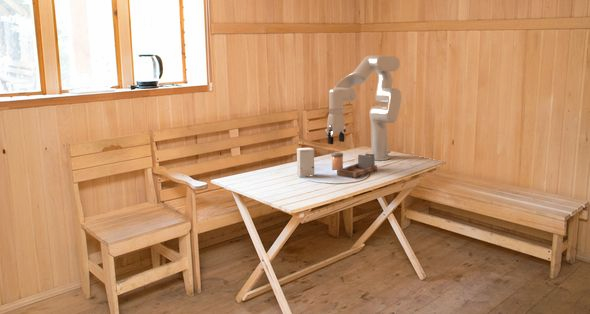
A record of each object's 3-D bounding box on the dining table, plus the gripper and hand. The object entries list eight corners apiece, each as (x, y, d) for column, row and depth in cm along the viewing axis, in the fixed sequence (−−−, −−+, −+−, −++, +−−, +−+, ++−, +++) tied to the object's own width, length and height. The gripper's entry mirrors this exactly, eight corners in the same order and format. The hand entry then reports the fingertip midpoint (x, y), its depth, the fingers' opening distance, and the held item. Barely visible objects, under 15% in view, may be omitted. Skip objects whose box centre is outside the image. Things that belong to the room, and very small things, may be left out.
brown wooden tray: (358, 168, 313) (358, 162, 313) (376, 170, 305) (376, 165, 305) (337, 175, 299) (336, 170, 298) (355, 178, 291) (355, 173, 290)
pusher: (364, 165, 314) (364, 153, 312) (377, 167, 308) (377, 154, 307) (358, 167, 310) (358, 154, 308) (371, 169, 304) (370, 156, 303)
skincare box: (300, 177, 297) (299, 150, 294) (296, 175, 303) (295, 148, 300) (315, 176, 300) (314, 148, 296) (311, 173, 305) (310, 146, 302)
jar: (336, 167, 316) (336, 152, 314) (345, 169, 312) (345, 153, 310) (329, 170, 312) (329, 154, 310) (338, 171, 307) (338, 155, 306)
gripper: (340, 109, 314) (340, 140, 317) (320, 112, 301) (321, 144, 304) (351, 110, 309) (351, 141, 312) (331, 113, 296) (331, 145, 299)
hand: (336, 142), depth 308 cm, fingers open, 9 cm apart
